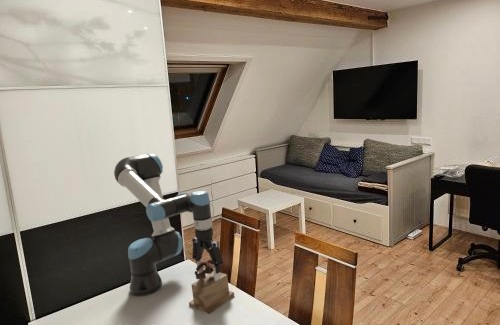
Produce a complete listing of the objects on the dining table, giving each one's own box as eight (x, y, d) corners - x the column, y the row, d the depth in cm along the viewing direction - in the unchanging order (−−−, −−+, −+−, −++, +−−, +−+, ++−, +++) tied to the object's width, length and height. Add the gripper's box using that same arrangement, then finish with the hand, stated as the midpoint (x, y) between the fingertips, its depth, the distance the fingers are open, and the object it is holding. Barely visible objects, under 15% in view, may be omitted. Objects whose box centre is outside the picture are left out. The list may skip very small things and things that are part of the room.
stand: (189, 305, 151) (186, 284, 149) (214, 288, 163) (212, 268, 161) (209, 313, 143) (206, 291, 142) (234, 295, 155) (232, 274, 154)
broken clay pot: (220, 283, 146) (208, 270, 144) (201, 292, 149) (190, 279, 146) (222, 264, 157) (212, 251, 154) (205, 272, 160) (195, 260, 157)
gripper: (179, 226, 152) (186, 275, 155) (215, 234, 138) (221, 287, 142) (192, 221, 157) (198, 268, 161) (228, 228, 144) (233, 279, 147)
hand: (209, 276), depth 151 cm, fingers closed on broken clay pot, 9 cm apart
